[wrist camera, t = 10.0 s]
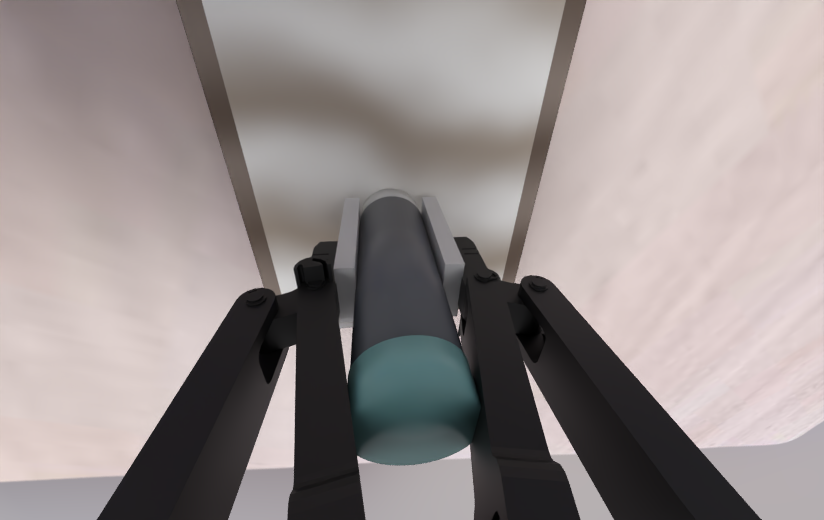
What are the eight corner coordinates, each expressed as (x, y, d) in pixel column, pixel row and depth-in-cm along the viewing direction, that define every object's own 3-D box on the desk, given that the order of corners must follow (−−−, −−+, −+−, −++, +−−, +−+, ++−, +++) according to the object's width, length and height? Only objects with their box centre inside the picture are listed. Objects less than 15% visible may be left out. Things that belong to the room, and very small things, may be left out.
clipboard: (99, -289, 9) (47, -353, 8) (631, -223, 11) (671, -265, 10) (277, 313, 23) (270, 332, 21) (504, 300, 25) (512, 317, 23)
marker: (357, 187, 17) (336, 395, 7) (422, 186, 17) (496, 382, 7) (361, 244, 19) (350, 471, 9) (419, 242, 19) (474, 458, 9)
